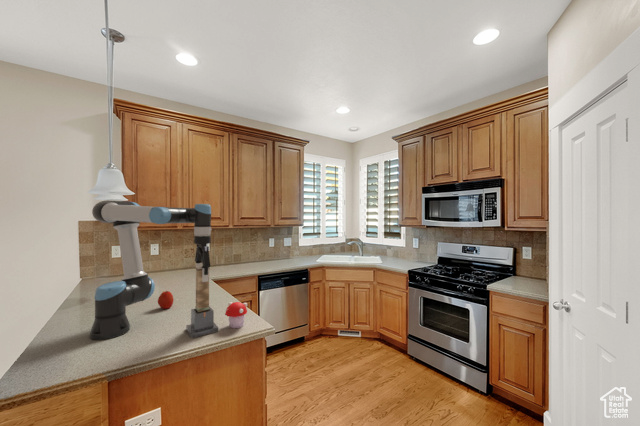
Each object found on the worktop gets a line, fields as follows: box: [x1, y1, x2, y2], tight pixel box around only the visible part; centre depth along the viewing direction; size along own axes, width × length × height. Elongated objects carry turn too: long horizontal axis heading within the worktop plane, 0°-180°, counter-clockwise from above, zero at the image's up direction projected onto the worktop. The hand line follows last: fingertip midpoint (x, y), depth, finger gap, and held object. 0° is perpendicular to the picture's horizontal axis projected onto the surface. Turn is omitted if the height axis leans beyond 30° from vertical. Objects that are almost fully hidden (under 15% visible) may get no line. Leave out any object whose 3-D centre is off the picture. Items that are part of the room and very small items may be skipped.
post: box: [194, 267, 210, 312], centre depth 132 cm, size 5×5×20 cm
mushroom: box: [224, 301, 248, 329], centre depth 138 cm, size 11×11×12 cm
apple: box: [157, 290, 174, 310], centre depth 164 cm, size 8×8×11 cm
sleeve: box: [185, 305, 219, 339], centre depth 132 cm, size 12×12×10 cm
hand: (201, 278), depth 132 cm, fingers open, 13 cm apart
